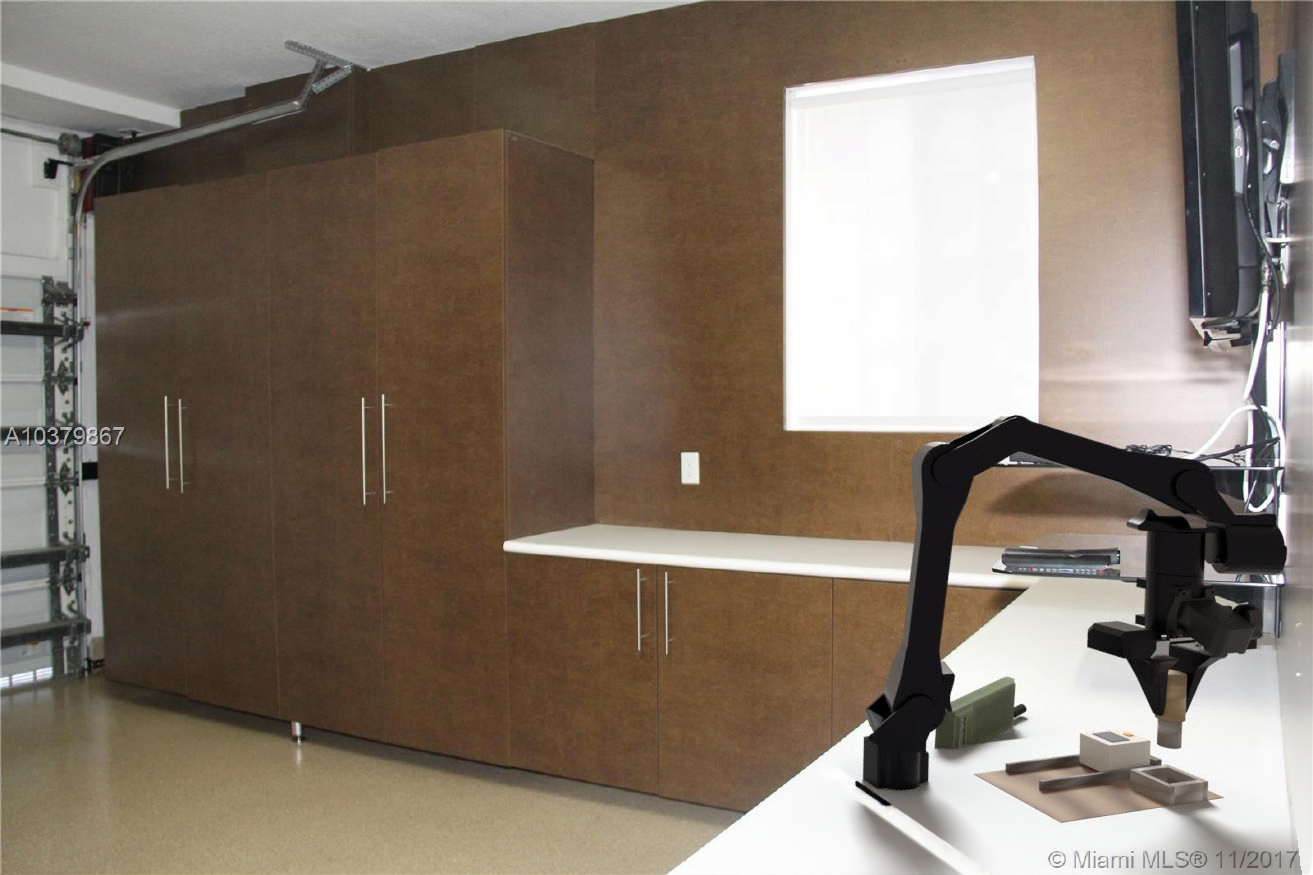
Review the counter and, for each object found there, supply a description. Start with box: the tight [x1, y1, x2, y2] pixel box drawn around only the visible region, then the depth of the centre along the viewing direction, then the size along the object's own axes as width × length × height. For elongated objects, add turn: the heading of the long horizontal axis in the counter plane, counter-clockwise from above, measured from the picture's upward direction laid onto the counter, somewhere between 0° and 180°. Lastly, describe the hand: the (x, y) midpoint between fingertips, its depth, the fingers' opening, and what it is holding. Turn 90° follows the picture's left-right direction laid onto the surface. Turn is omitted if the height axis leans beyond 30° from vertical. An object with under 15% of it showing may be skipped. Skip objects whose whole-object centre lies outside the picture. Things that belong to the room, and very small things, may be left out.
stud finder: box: [1079, 727, 1151, 772], centre depth 117 cm, size 6×5×4 cm
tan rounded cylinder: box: [1154, 670, 1187, 750], centre depth 109 cm, size 3×3×8 cm
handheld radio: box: [934, 676, 1027, 750], centre depth 133 cm, size 7×3×25 cm
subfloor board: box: [973, 753, 1224, 823], centre depth 111 cm, size 22×14×4 cm, turn 109°
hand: (1169, 713), depth 109 cm, fingers closed on tan rounded cylinder, 3 cm apart
